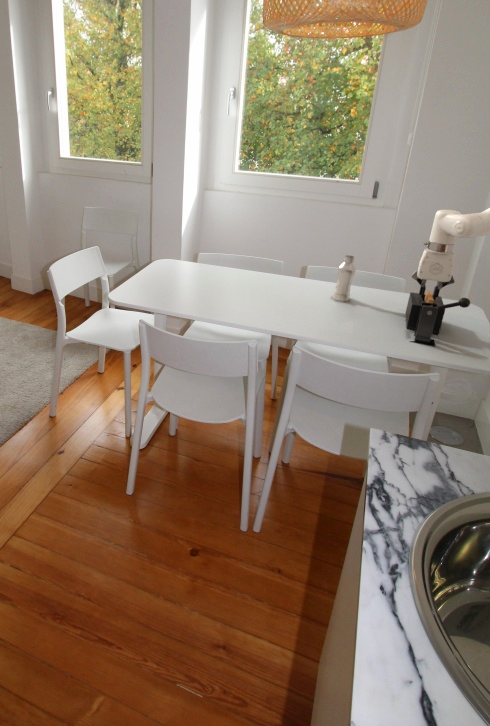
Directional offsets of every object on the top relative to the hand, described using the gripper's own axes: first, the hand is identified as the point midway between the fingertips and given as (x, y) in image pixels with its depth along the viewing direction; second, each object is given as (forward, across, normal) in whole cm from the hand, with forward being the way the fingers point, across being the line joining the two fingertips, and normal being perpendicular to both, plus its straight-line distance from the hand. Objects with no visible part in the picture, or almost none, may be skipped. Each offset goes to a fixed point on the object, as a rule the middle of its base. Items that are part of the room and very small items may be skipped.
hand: (427, 297), depth 165 cm
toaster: (+12, 0, 0) cm, 12 cm away
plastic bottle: (+12, -28, +14) cm, 34 cm away
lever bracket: (+12, 0, -13) cm, 18 cm away
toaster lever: (0, +5, -13) cm, 14 cm away
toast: (+9, 0, 0) cm, 9 cm away
